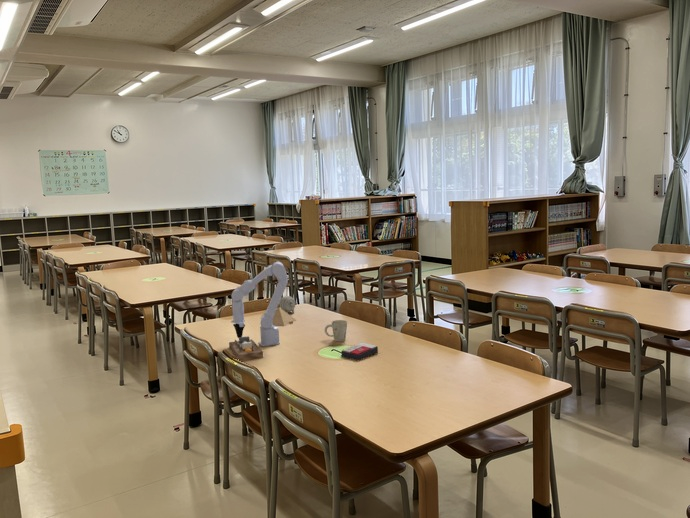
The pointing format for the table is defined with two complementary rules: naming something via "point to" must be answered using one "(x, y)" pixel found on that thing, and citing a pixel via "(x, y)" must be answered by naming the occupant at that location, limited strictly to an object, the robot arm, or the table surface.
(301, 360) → the table surface
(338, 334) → the mug
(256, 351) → the launcher base
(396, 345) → the table surface
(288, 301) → the toy sheep
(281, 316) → the model pyramid
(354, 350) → the flat black red box
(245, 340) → the grey block
